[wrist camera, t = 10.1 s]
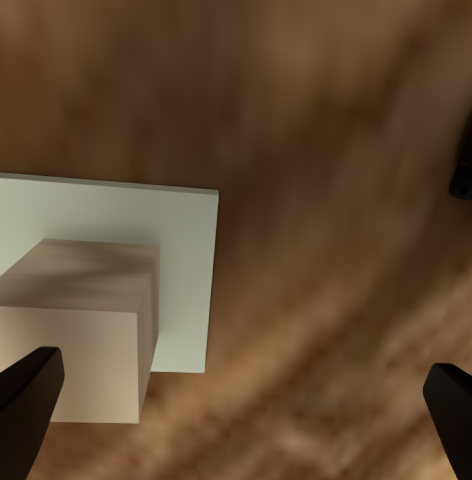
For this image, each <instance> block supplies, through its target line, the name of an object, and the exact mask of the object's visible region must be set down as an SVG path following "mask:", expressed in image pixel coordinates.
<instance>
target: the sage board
mask: <svg viewBox="0 0 472 480" xmlns="http://www.w3.org/2000/svg"><path fill="white" fill-rule="evenodd" d="M218 198H219V190H212V189H199V188H187V187H175V186H162V185H150V184H137V183H125V182H113V181H100V180H88V179H76V178H63V177H51V176H38V175H26V174H14V173H1V172H0V276H1V275H2V274H4V273H5V272H6V271H7V270H8V269H9V268H10V267H11V266H13V265H14V264H15V263H16V262H17V261H18V260H19V259H20V258H22V257H23V256H24V255H25V254H26V253H27V252H28V251H30V250H31V249H32V248H33V247H34V246H35V245H36V244H37V243H39V242H40V241H41V240H42V239H43V238H46V239H61V240H76V241H91V242H106V243H121V244H136V245H151V246H160V267H159V335H158V340H157V344H156V349H155V353H154V358H153V362H152V367H151V371H158V372H191V373H204V369H205V357H206V345H207V332H208V320H209V308H210V296H211V284H212V271H213V259H214V247H215V235H216V223H217V210H218Z"/></svg>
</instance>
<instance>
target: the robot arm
mask: <svg viewBox="0 0 472 480" xmlns="http://www.w3.org/2000/svg"><path fill="white" fill-rule="evenodd" d="M463 186H464V187H463ZM461 187H463V190H462V191H461V192H460V193H459V190H460V188H461ZM450 193H451V195H452V196H453V197H456V198H458V199H464V200H472V128H471V131H470V134H469V136H468V139H467V142H466V145H465V148H464V150H463V153H462V156H461V159H460V163H459V165H458V168H457V171H456V174H455V177H454V179H453V182H452V185H451V188H450ZM64 379H65V371H64V364H63V357H62V352H61V349H60V348H59V347H56V346H41V347H38V348H37V349H35V350H34V351H32V352H31V353H29V354H28V355H26V356H24V357H23V358H21V359H20V360H18V361H17V362H15V363H14V364H12V365H11V366H9V367H8V368H6V369H5V370H3V371H2V372H0V480H26V478H27V476H28V474H29V472H30V470H31V468H32V466H33V463H34V461H35V459H36V457H37V454H38V452H39V450H40V447H41V445H42V442H43V439H44V437H45V434H46V431H47V428H48V425H49V423H50V420H51V417H52V414H53V411H54V409H55V406H56V403H57V400H58V398H59V395H60V392H61V389H62V386H63V383H64ZM423 396H424V399H425V401H426V404H427V406H428V409H429V412H430V414H431V417H432V419H433V422H434V424H435V427H436V430H437V432H438V435H439V437H440V440H441V442H442V445H443V448H444V450H445V453H446V455H447V457H448V460H449V462H450V464H451V466H452V468H453V470H454V473H455V475H456V477H457V479H458V480H472V376H471V375H469V374H468V373H466V372H465V371H463V370H461V369H460V368H458V367H457V366H455V365H453V364H450V363H435V364H433V365H432V367H431V369H430V371H429V374H428V376H427V378H426V381H425V383H424V386H423Z"/></svg>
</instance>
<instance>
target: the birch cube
mask: <svg viewBox="0 0 472 480" xmlns="http://www.w3.org/2000/svg"><path fill="white" fill-rule="evenodd" d="M159 267H160V246H151V245H136V244H121V243H106V242H91V241H76V240H61V239H46V238H43V239H42V240H41V241H40V242H39V243H37V244H36V245H35V246H34V247H33V248H32V249H31V250H30V251H28V252H27V253H26V254H25V255H24V256H23V257H22V258H20V259H19V260H18V261H17V262H16V263H15V264H14V265H13V266H11V267H10V268H9V269H8V270H7V271H6V272H5V273H4V274H2V275H1V276H0V372H2V371H3V370H5V369H6V368H8V367H9V366H11V365H12V364H14V363H15V362H17V361H18V360H20V359H21V358H23V357H24V356H26V355H28V354H29V353H31V352H32V351H34V350H35V349H37V348H38V347H41V346H56V347H59V348H60V349H61V352H62V357H63V364H64V371H65V379H64V383H63V386H62V389H61V392H60V395H59V398H58V400H57V403H56V406H55V409H54V411H53V414H52V417H51V420H50V422H96V423H139V420H140V416H141V411H142V407H143V402H144V398H145V393H146V389H147V384H148V380H149V375H150V371H151V367H152V362H153V358H154V353H155V349H156V344H157V340H158V335H159Z"/></svg>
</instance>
